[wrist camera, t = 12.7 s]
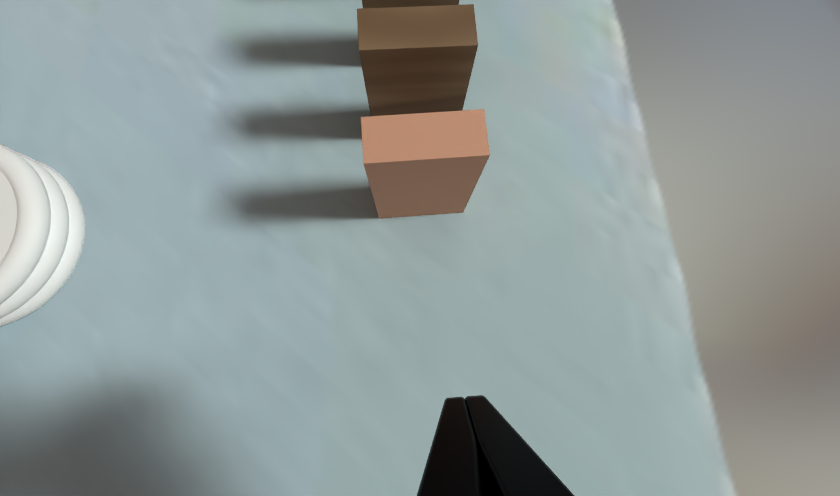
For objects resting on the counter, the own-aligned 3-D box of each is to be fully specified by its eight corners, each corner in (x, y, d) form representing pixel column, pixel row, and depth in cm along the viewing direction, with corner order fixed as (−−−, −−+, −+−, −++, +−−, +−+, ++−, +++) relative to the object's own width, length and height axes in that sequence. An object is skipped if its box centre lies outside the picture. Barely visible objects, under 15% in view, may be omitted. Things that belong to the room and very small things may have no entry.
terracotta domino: (463, 212, 24) (489, 155, 16) (379, 218, 23) (363, 163, 16) (459, 180, 24) (484, 109, 16) (376, 186, 24) (360, 116, 16)
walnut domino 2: (456, 135, 25) (477, 45, 17) (375, 139, 24) (358, 50, 16) (453, 105, 25) (473, 4, 17) (373, 109, 25) (356, 8, 17)
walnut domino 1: (449, 63, 25) (467, -54, 18) (371, 66, 25) (354, -50, 17) (447, 36, 26) (463, -91, 18) (370, 39, 26) (352, -88, 18)
